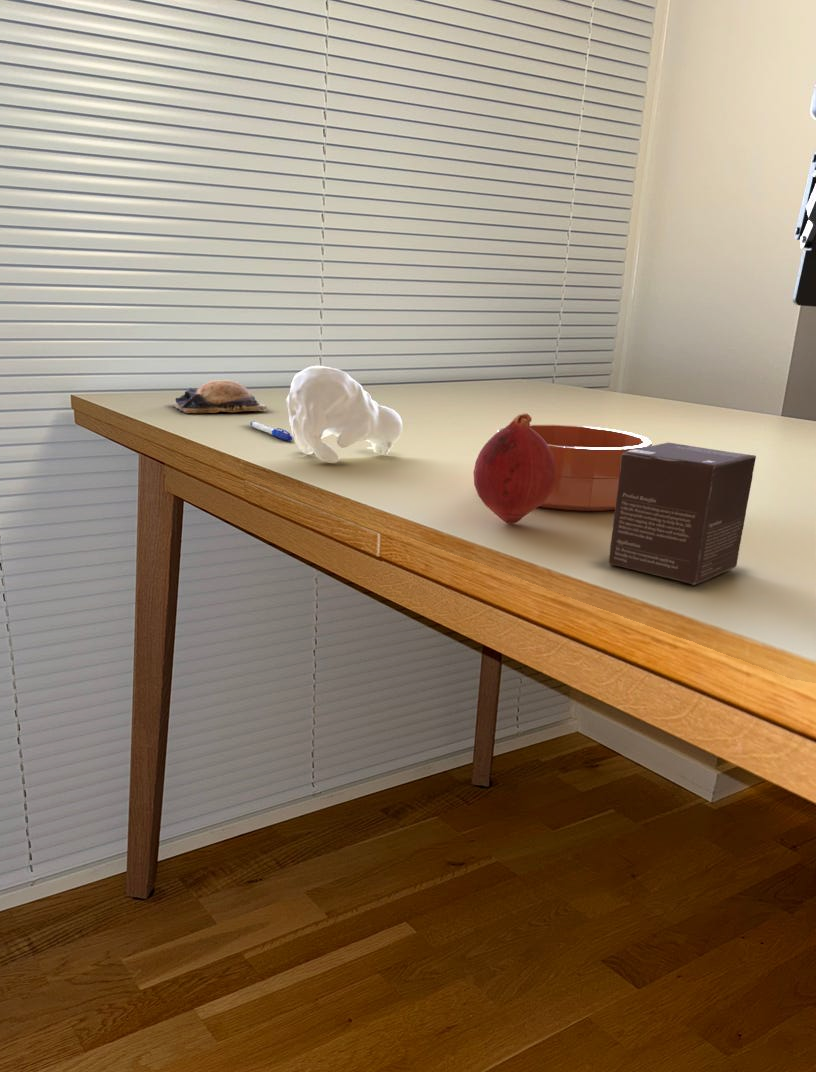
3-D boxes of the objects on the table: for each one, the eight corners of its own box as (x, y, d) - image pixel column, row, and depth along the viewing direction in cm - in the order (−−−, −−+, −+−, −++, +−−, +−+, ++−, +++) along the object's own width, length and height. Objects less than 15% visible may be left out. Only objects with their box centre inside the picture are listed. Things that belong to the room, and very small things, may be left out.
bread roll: (250, 404, 128) (250, 376, 127) (269, 413, 120) (269, 383, 119) (170, 405, 124) (170, 375, 123) (185, 414, 117) (184, 383, 116)
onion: (507, 537, 67) (518, 421, 64) (453, 519, 72) (462, 409, 69) (565, 528, 70) (579, 416, 67) (511, 511, 75) (522, 406, 72)
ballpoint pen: (295, 441, 101) (295, 432, 101) (287, 442, 101) (287, 432, 101) (253, 426, 110) (253, 417, 110) (246, 427, 109) (246, 418, 109)
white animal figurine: (283, 360, 91) (389, 371, 97) (274, 451, 94) (378, 456, 99) (314, 367, 86) (425, 378, 92) (304, 463, 88) (412, 467, 94)
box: (738, 570, 61) (760, 455, 59) (694, 588, 58) (715, 466, 55) (651, 549, 66) (668, 441, 63) (604, 565, 62) (620, 450, 59)
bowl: (630, 486, 86) (638, 429, 84) (652, 518, 74) (663, 453, 72) (491, 477, 87) (497, 421, 85) (493, 507, 76) (499, 443, 74)
